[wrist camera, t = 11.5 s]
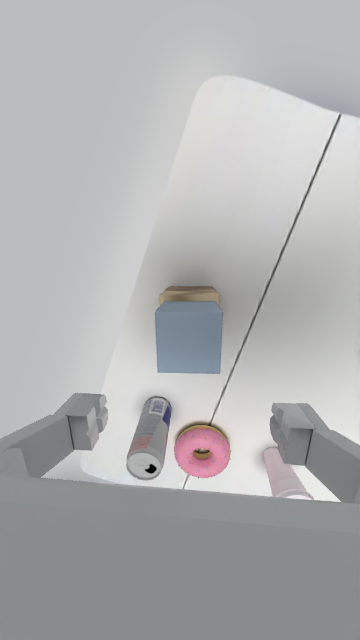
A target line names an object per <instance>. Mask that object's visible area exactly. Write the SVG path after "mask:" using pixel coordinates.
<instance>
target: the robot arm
mask: <svg viewBox="0 0 360 640" xmlns="http://www.w3.org/2000/svg"><path fill="white" fill-rule="evenodd" d="M106 403H107V400H106V396H105V395H101V394H87V393H86V394H85V393H75V394H73V395H72V396H71V397H70V398H69V399H68V400H67V401H66V402H65V403H64V404H63V405H62V406H61V407H60V408H59V409H58V410H57V411H56V412H55V414H54V415H49V416H47V417H44V418H43V419H40V420H38V421H36V422H34V423H32V424H30V425H28V426H26V427H24V428H22V429H20V430H18V431H16V432H14V433H12V434H9V435H8V436H5V437H3V438H1V439H0V640H360V445H358V444H356V443H355V442H353V441H351V440H349V439H348V438H346V437H344V436H343V435H341V434H339V433H338V432H336V431H333V430H330V429H329V428H328V427H327V425H326V424H325V423H324V422H323V421H322V419H321V418H320V417H319V416H318V414H317V413H316V412H315V411H314V410H313V408H312V407H311V406H310V405H309V404H307V403H296V404H292V403H273V405H272V412H273V414H274V415H273V416H272V417H271V418H270V431H271V435H272V438H273V440H274V441H275V442H276V443H277V444H278V451H279V454H280V456H281V458H282V460H283V463H284V464H293V465H303V466H305V467H306V468H307V469H308V470H309V471H310V472H311V473H312V474H313V475H314V476H315V477H317V478H318V479H319V480H320V481H321V482H322V483H323V484H324V485H325V486H326V487H327V488H328V489H329V490H330V491H331V492H332V493H333V494H334V495H335V496H336V497H337V498H338V499H339V500H340V501H341V502H331V501H318V500H306V499H293V498H280V497H268V496H256V495H244V494H232V493H221V492H209V491H196V490H184V489H171V488H159V487H147V486H134V485H122V484H110V483H98V482H97V483H96V482H84V481H73V480H61V479H48V478H41V477H42V476H43V475H44V474H45V473H46V472H48V471H49V470H50V469H52V468H53V467H54V466H55V465H57V464H58V463H59V462H60V461H62V460H63V459H64V458H65V457H66V456H68V455H69V454H70V453H71V452H73V450H92V449H93V448H94V446H95V444H96V442H97V441H98V439H99V433H100V432H102V431H103V430H104V428H105V426H106V424H107V420H108V409H107V408H106V407H105V404H106Z"/></svg>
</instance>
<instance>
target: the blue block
mask: <svg viewBox="0 0 360 640" xmlns="http://www.w3.org/2000/svg"><path fill="white" fill-rule="evenodd" d="M222 317H223V312H222V311H221V309H220V308H219V306H218V304H217V303H216V301H164V302H163V303H162V304H161V305H160V307H159V308H158V309H157V310H156V312H155V323H156V346H157V369H158V373H206V374H220V363H221V340H222Z"/></svg>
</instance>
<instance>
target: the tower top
mask: <svg viewBox="0 0 360 640" xmlns="http://www.w3.org/2000/svg"><path fill="white" fill-rule="evenodd" d="M159 300H160V305H161V304H162V303H163V302H164V301H216V303H217V304H218V306H219V294H218V293H217V292H216V291H215V290H182V291H164V292H163V293H162V294H161V295H160V296H159Z"/></svg>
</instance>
